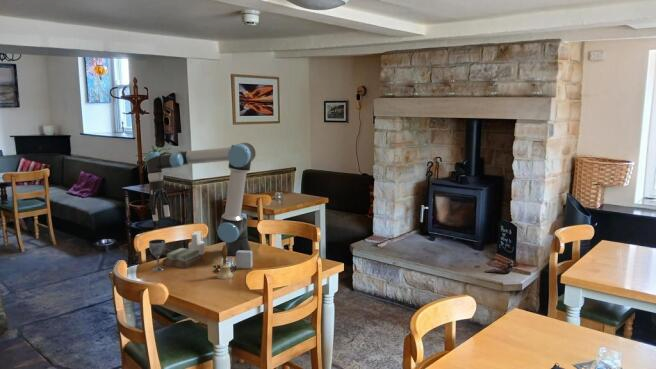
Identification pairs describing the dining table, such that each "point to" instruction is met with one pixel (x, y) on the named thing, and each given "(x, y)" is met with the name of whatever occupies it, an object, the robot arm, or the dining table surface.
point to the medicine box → (244, 259)
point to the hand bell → (224, 266)
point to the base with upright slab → (197, 242)
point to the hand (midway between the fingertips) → (161, 218)
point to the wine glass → (157, 251)
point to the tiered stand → (183, 258)
